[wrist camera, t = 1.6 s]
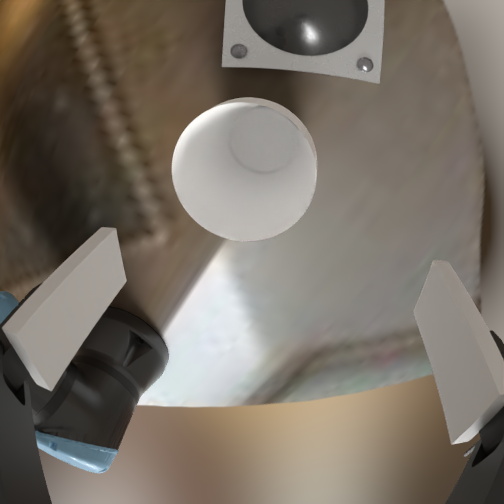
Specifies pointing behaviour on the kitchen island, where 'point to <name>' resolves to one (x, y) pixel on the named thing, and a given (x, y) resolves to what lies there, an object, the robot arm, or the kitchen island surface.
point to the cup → (245, 169)
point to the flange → (306, 36)
